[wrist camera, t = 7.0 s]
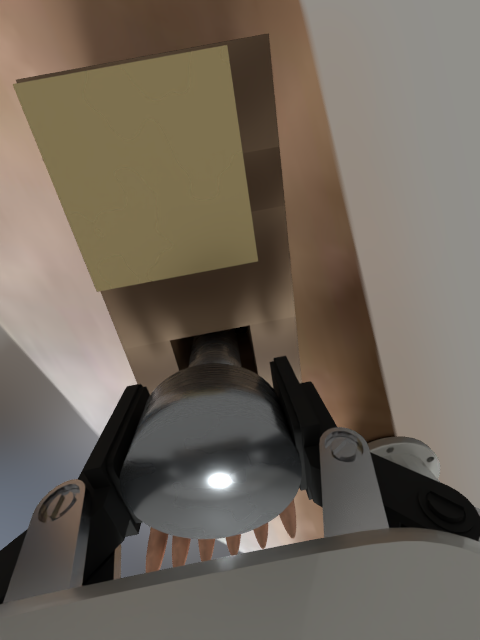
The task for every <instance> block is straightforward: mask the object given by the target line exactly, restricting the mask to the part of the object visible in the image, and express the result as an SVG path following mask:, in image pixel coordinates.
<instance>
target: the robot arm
mask: <svg viewBox="0 0 480 640" xmlns="http://www.w3.org/2000/svg"><path fill="white" fill-rule="evenodd" d="M270 369H271V376H272V383H273V389H274V390H275V392H276V393H277V395H278V397H279V400H280V403H281V406H282V409H283V412H284V415H285V418H286V421H287V424H288V427H289V430H290V433H291V436H292V439H293V442H294V445H295V448H296V450H297V453H298V455H299V458H300V462H301V467H302V478H301V484H300V486H299V487H300V490H306V492H307V495H308V498H309V500H311V499H313V501H314V502H315V503H316V504H318V505H319V506H321V507H322V508H323V522H324V538H320V539H315V540H309V541H304V542H299V543H294V544H289V545H284V546H279V547H273V548H268V549H263V550H258V551H253V552H248V553H243V554H238V555H233V556H228V557H223V558H218V559H213V560H208V561H203V562H198V563H193V564H188V565H183V566H178V567H173V568H169V569H164V570H159V571H154V572H149V573H144V574H139V575H134V576H130V577H125V578H121V543H122V542H123V541H124V538H125V537H127V536H131V535H137V534H139V529H140V525H141V523H142V521H141V520H140V519H138V518H137V517H136V516H135V515H134V514H133V513H132V512H131V511H130V510H129V508H128V507H127V505H126V504H125V502H124V499H123V497H122V495H121V490H120V474H121V469H122V466H123V464H124V461H125V458H126V456H127V453H128V450H129V448H130V445H131V442H132V440H133V437H134V434H135V432H136V429H137V426H138V424H139V421H140V418H141V416H142V413H143V410H144V408H145V405H146V403H147V400H148V398H149V397H150V394H149V391H148V389H147V387H146V386H144V387H143V386H142V384H137V385H132V386H128V387H126V389H125V391H124V393H123V394H122V396H121V398H120V400H119V402H118V404H117V406H116V408H115V410H114V412H113V414H112V415H111V417H110V419H109V421H108V423H107V425H106V426H105V428H104V430H103V432H102V434H101V436H100V438H99V440H98V442H97V444H96V445H95V447H94V449H93V451H92V453H91V455H90V457H89V459H88V461H87V463H86V464H85V466H84V468H83V470H82V472H81V474H80V476H79V478H78V479H74V480H69V481H66V482H64V483H62V484H60V485H58V486H56V487H55V488H54V489H53V490H51V491H50V492H49V493H48V494H47V495H46V496H45V497H44V498H43V499H42V500H41V501H40V503H39V504H38V505H37V507H36V509H35V511H34V513H33V515H32V518H31V521H30V524H29V527H28V529H27V530H26V531H25V532H23V533H22V534H21V535H19V536H18V537H17V538H16V539H14V540H13V541H12V542H11V543H9V544H8V545H7V546H6V547H4V548H3V549H2V550H1V551H0V640H480V509H478V508H476V507H474V506H473V505H472V504H471V503H470V501H469V500H468V499H467V498H466V497H464V496H463V495H462V494H460V493H459V492H458V491H456V490H455V489H453V488H451V487H449V486H447V485H445V484H443V483H440V481H439V480H438V477H439V474H440V463H439V459H438V458H437V456H436V454H435V453H434V452H433V451H432V450H431V449H430V448H429V447H428V446H427V445H426V444H424V443H423V442H421V441H419V440H416V439H414V438H409V437H388V438H382V439H379V440H375V441H372V442H370V443H367V442H366V441H365V439H364V438H363V437H362V436H361V435H360V434H358V433H357V432H355V431H353V430H350V429H348V428H342V427H337V426H336V424H335V422H334V420H333V419H332V417H331V415H330V413H329V412H328V410H327V408H326V406H325V405H324V403H323V401H322V399H321V398H320V396H319V394H318V392H317V390H316V389H315V387H314V385H313V384H312V382H305V383H299V381H298V379H297V377H296V375H295V373H294V371H293V369H292V367H291V365H290V363H289V361H288V359H287V357H286V356H281V357H276V358H274V361H272V362H270Z"/></svg>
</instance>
